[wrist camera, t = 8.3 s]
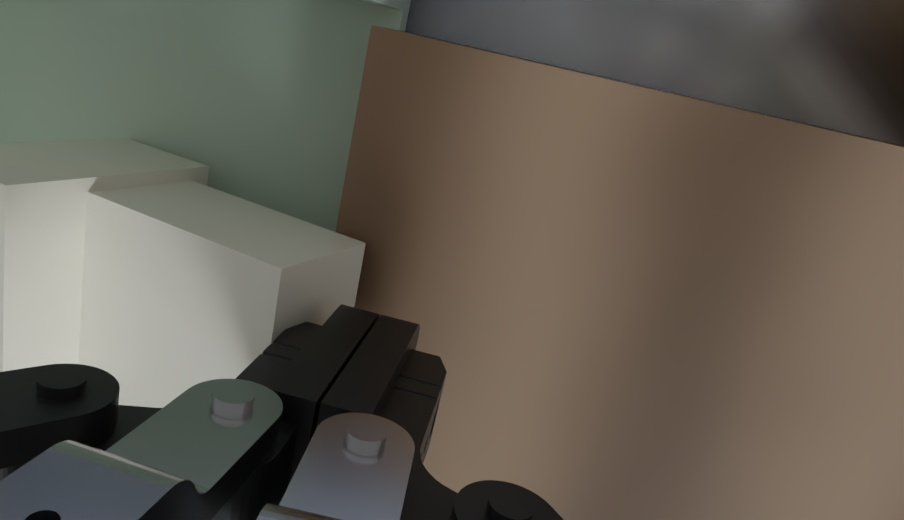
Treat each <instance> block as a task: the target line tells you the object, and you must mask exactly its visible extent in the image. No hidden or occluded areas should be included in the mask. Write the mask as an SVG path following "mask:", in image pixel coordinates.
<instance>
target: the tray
mask: <svg viewBox="0 0 904 520" xmlns="http://www.w3.org/2000/svg"><path fill="white" fill-rule="evenodd" d="M410 3H411V0H0V144H3V143H29V142H54V141H80V140H106V139H131V140H134V141H137V142H140V143H143V144H145V145H148V146H151V147H154V148H157V149H160V150H163V151H166V152H169V153H171V154H174V155H177V156H180V157H183V158H186V159H189V160H192V161H195V162H197V163H200V164H203V165H206V166H209V173H208V183H207V186H208V187H211V188H214V189H217V190H220V191H222V192H225V193H228V194H231V195H234V196H236V197H239V198H242V199H245V200H247V201H250V202H253V203H256V204H259V205H261V206H264V207H267V208H270V209H273V210H275V211H278V212H281V213H284V214H286V215H289V216H292V217H295V218H298V219H300V220H303V221H306V222H309V223H312V224H314V225H317V226H320V227H323V228H325V229H328V230H331V231H334V232H336V226H337V221H338V215H339V209H340V203H341V198H342V192H343V186H344V180H345V174H346V169H347V163H348V157H349V151H350V146H351V140H352V134H353V128H354V123H355V117H356V111H357V105H358V99H359V94H360V88H361V82H362V76H363V71H364V65H365V59H366V53H367V48H368V42H369V36H370V30H371V25H373V26H378V27H384V28H389V29H394V30H399V31H405V30H406V25H407V19H408V14H409V9H410Z"/></svg>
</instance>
